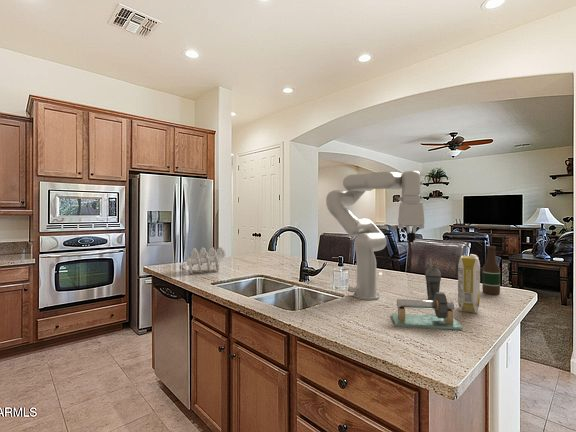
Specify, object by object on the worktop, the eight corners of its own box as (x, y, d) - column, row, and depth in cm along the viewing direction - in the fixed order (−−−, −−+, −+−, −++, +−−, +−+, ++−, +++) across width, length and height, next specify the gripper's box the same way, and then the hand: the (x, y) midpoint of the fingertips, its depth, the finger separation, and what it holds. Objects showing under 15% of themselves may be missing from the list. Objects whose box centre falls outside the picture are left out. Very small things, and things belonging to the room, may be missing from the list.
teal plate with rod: (395, 326, 119) (395, 302, 119) (391, 315, 131) (391, 294, 131) (462, 330, 115) (462, 306, 115) (452, 318, 127) (452, 296, 127)
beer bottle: (483, 294, 162) (484, 246, 161) (481, 290, 169) (481, 245, 169) (501, 295, 159) (502, 247, 158) (498, 291, 166) (498, 245, 166)
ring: (440, 320, 118) (440, 296, 118) (433, 312, 127) (433, 290, 126) (447, 321, 117) (447, 296, 117) (440, 313, 126) (440, 290, 126)
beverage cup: (443, 302, 149) (443, 259, 149) (426, 301, 151) (426, 258, 150) (439, 297, 156) (439, 256, 156) (423, 297, 158) (423, 256, 157)
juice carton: (479, 314, 132) (479, 256, 131) (457, 311, 136) (457, 254, 135) (479, 308, 139) (480, 253, 139) (459, 305, 144) (459, 252, 143)
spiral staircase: (186, 278, 222) (222, 273, 233) (190, 271, 207) (228, 266, 219) (183, 253, 228) (217, 249, 240) (186, 245, 213) (223, 241, 225)
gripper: (394, 199, 137) (394, 242, 137) (431, 199, 134) (431, 243, 134) (391, 200, 144) (391, 241, 144) (427, 199, 141) (427, 241, 142)
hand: (410, 242), depth 139 cm, fingers closed
